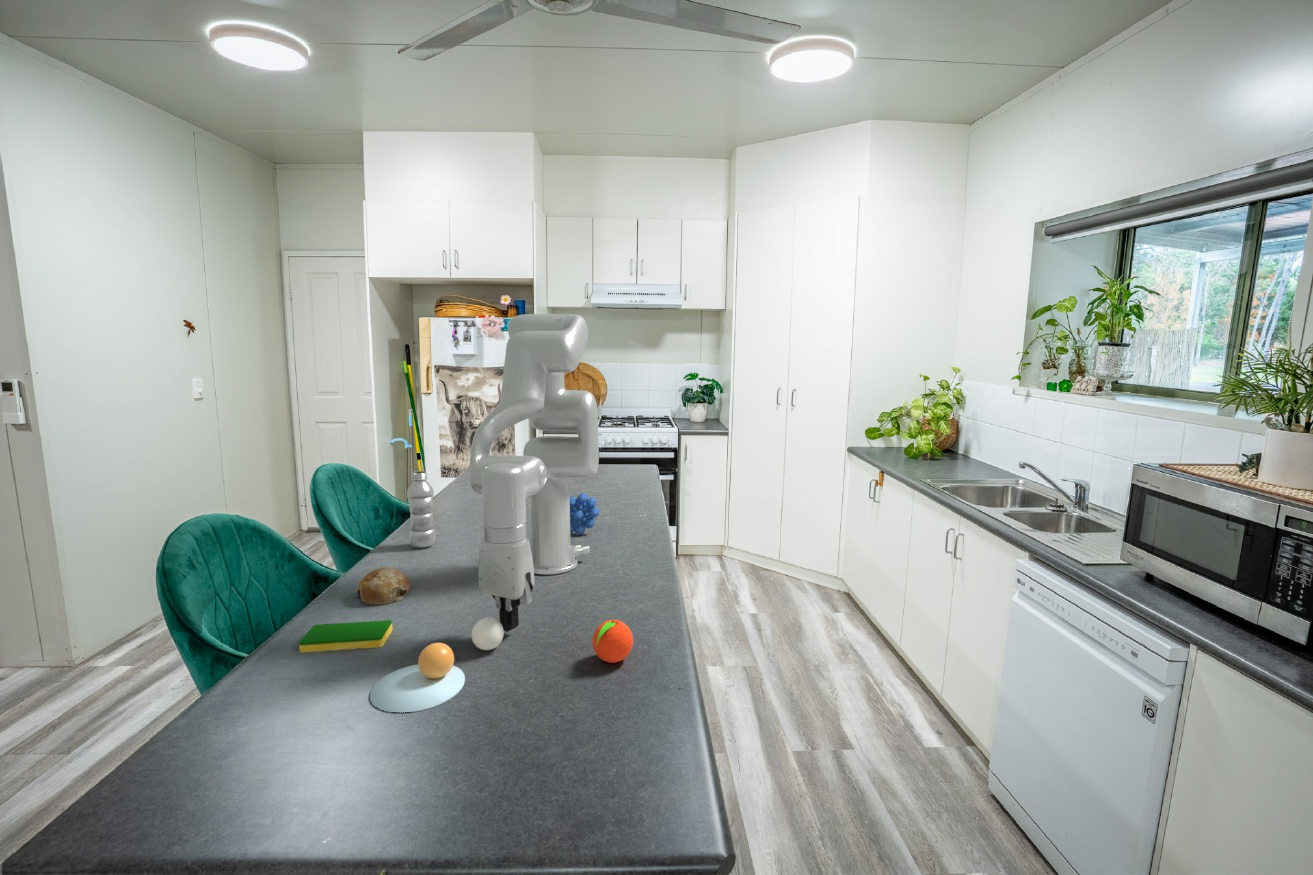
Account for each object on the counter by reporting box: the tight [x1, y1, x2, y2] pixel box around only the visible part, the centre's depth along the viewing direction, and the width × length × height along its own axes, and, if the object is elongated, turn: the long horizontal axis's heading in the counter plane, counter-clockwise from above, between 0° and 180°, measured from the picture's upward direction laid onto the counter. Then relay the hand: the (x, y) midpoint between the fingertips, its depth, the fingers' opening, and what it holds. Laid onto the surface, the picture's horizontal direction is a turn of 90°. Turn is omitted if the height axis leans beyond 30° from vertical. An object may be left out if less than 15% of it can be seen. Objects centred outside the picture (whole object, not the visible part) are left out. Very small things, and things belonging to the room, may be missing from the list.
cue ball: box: [471, 617, 505, 651], centre depth 109 cm, size 6×6×6 cm
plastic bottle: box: [406, 470, 437, 549], centre depth 162 cm, size 6×7×20 cm
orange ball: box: [417, 642, 455, 679], centre depth 100 cm, size 6×6×6 cm
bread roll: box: [354, 567, 411, 606], centre depth 132 cm, size 10×10×8 cm
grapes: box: [569, 492, 600, 536], centre depth 173 cm, size 12×7×12 cm, turn 100°
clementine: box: [592, 619, 634, 664], centre depth 105 cm, size 8×7×7 cm
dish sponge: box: [298, 619, 393, 653], centre depth 113 cm, size 7×14×2 cm, turn 98°
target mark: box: [369, 663, 466, 714], centre depth 98 cm, size 14×14×1 cm
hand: (509, 627), depth 114 cm, fingers closed
